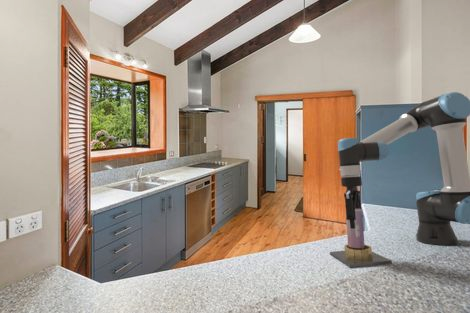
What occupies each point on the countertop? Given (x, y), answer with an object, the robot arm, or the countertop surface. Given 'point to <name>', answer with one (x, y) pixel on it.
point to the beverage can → (351, 233)
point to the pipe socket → (359, 257)
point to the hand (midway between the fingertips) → (356, 235)
